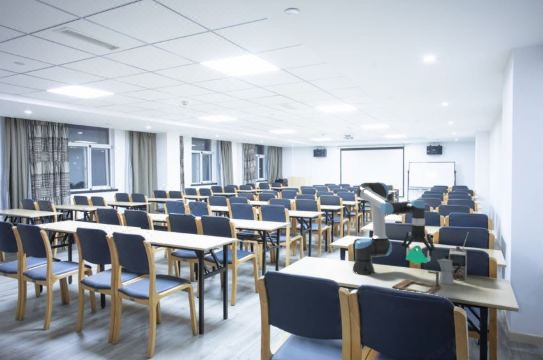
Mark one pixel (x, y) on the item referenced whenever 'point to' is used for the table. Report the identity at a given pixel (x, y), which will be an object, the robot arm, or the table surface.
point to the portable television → (461, 258)
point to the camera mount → (416, 255)
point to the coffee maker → (447, 270)
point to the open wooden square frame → (407, 282)
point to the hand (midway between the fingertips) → (418, 259)
